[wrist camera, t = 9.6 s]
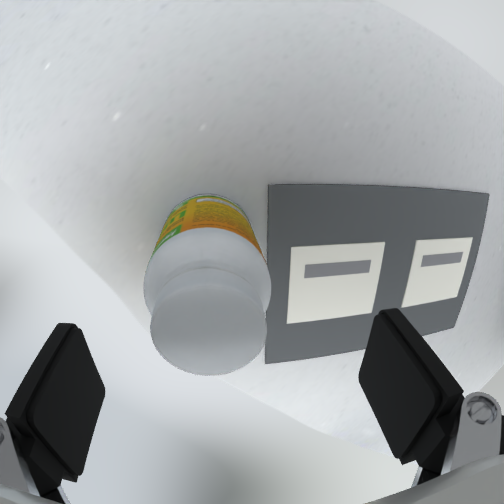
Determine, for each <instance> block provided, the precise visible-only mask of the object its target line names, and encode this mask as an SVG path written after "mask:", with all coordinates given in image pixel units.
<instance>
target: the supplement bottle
mask: <svg viewBox="0 0 504 504" xmlns="http://www.w3.org/2000/svg"><path fill="white" fill-rule="evenodd" d="M144 297H145V301H146V305H147V307H148V310H149V312H150V314H151V315H152V318H151V325H150V330H151V337H152V340H153V343H154V345H155V347H156V349H157V350H158V352H159V353H160V355H162V357H163V358H164V359H165V360H167V361H168V362H169V363H170V364H172V365H173V366H175V367H177V368H178V369H181V370H183V371H185V372H189V373H192V374H197V375H205V376H208V375H209V376H212V375H221V374H227V373H230V372H233V371H235V370H238V369H240V368H242V367H244V366H245V365H247V364H248V363H250V362H251V361H252V360H253V359H254V358H255V357H256V356H257V355H258V354H259V352H260V351H261V349H262V347H263V346H264V343H265V340H266V336H267V323H266V318H265V312H266V310H267V308H268V305H269V302H270V297H271V279H270V275H269V271H268V267H267V264H266V261H265V259H264V257H263V254H262V252H261V249H260V247H259V244H258V242H257V240H256V238H255V235H254V233H253V230H252V228H251V225H250V223H249V220H248V218H247V217H246V215H245V213H244V212H243V211H242V210H241V208H240V207H239V206H238V205H236V204H235V203H234V202H232V201H231V200H229V199H227V198H224V197H222V196H218V195H212V194H205V195H197V196H194V197H191V198H188V199H186V200H184V201H183V202H181V203H180V204H179V205H178V206H176V207H175V209H174V210H173V211H172V212H171V214H170V215H169V217H168V219H167V220H166V222H165V225H164V227H163V230H162V232H161V234H160V237H159V239H158V242H157V244H156V247H155V249H154V251H153V254H152V256H151V259H150V261H149V264H148V266H147V270H146V274H145V278H144Z"/></svg>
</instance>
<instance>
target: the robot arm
mask: <svg viewBox="0 0 504 504" xmlns="http://www.w3.org/2000/svg"><path fill="white" fill-rule="evenodd" d="M359 383H360V385H361V387H362V389H363V391H364V393H365V395H366V397H367V400H368V402H369V404H370V406H371V408H372V410H373V412H374V414H375V416H376V418H377V421H378V423H379V425H380V427H381V429H382V431H383V434H384V436H385V438H386V440H387V442H388V444H389V447H390V449H391V451H392V453H393V455H394V457H395V458H397V459H398V458H399V459H400V461H401V464H402V465H403V464H406V463H409V462H412V461H414V460H416V461H417V463H418V465H419V467H418V470H417V473H416V476H415V479H414V481H413V484H412V487H411V488H410V489H407V490H404V491H401V492H399V493H396V494H393V495H390V496H387V497H384V498H381V499H378V500H375V501H372V502H368V503H365V504H504V416H503V415H502V414H501V408H500V406H499V404H498V402H497V401H496V400H495V399H494V398H493V397H492V396H490V395H488V394H486V393H482V392H475V393H471V394H469V395H467V396H466V398H464V396H463V395H462V393H463V392H464V391H463V389H462V388H461V387H460V385H459V384H458V382H457V381H456V380H455V378H454V377H453V376H452V375H451V373H450V372H449V371H448V369H447V368H446V367H445V365H444V364H443V363H442V361H441V360H440V359H439V358H438V356H437V355H436V354H435V353H434V351H433V350H432V349H431V347H430V346H429V345H428V344H427V342H426V341H425V340H424V339H423V338H422V336H421V335H420V334H419V333H418V331H417V330H416V329H415V328H414V327H413V325H412V324H411V323H410V322H409V321H408V319H407V318H406V317H405V316H404V315H403V313H402V312H401V311H400V310H399V309H398V308H390V309H383V310H380V311H379V313H378V315H375V317H374V320H373V324H372V328H371V332H370V336H369V339H368V343H367V347H366V350H365V354H364V358H363V361H362V365H361V368H360V371H359ZM104 397H105V387H104V384H103V382H102V380H101V377H100V375H99V373H98V370H97V368H96V366H95V363H94V361H93V358H92V356H91V353H90V351H89V348H88V346H87V343H86V340H85V338H84V335H83V332H82V330H81V329H80V328H78V327H77V326H76V325H75V324H72V323H58V324H57V326H56V327H55V329H54V330H53V332H52V334H51V335H50V336H49V338H48V339H47V341H46V342H45V344H44V346H43V347H42V349H41V350H40V352H39V354H38V356H37V357H36V359H35V360H34V362H33V364H32V365H31V367H30V369H29V370H28V372H27V374H26V375H25V377H24V379H23V381H22V383H21V384H20V386H19V388H18V390H17V392H16V393H15V395H14V397H13V399H12V401H11V403H10V405H9V407H8V408H7V410H6V413H5V414H6V416H7V419H6V421H4V420H3V419H2V418H0V504H70V502H69V500H68V498H67V497H66V495H65V493H64V491H63V489H62V487H61V481H62V479H65V480H69V481H72V482H77V478H78V475H79V476H80V475H81V474H82V473H83V470H84V466H85V462H86V458H87V454H88V451H89V447H90V443H91V440H92V436H93V432H94V429H95V426H96V423H97V419H98V416H99V412H100V409H101V406H102V403H103V400H104Z"/></svg>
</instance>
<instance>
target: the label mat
mask: <svg viewBox="0 0 504 504" xmlns="http://www.w3.org/2000/svg"><path fill="white" fill-rule="evenodd" d="M488 200H489V194H486V193H477V192H467V191H456V190H444V189H431V188H416V187H398V186H375V185H338V184H278V185H268V252H267V267H268V271H269V275H270V279H271V297H270V302H269V305H268V308H267V310H266V323H267V336H266V344H265V364H271V363H279V362H288V361H295V360H303V359H310V358H316V357H323V356H329V355H335V354H341V353H347V352H352V351H358V350H363V349H366V347H367V343H368V339H369V336H370V332H371V328H372V324H373V320H374V317H375V315H378V313H379V311H380V310H383V309H390V308H398V309H399V310H400V311H401V312H402V313H403V315H404V316H405V317H406V318H407V319H408V321H409V322H410V323H411V324H412V325H413V327H414V328H415V329H416V330H417V331H418V333H419V334H420V335H421V336H424V335H428V334H432V333H436V332H439V331H443V330H447V329H450V328H453V327H454V326H455V323H456V320H457V318H458V315H459V312H460V310H461V307H462V304H463V301H464V298H465V295H466V292H467V289H468V285H469V282H470V279H471V276H472V272H473V269H474V265H475V261H476V257H477V254H478V250H479V245H480V241H481V237H482V232H483V228H484V223H485V217H486V212H487V206H488Z"/></svg>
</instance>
